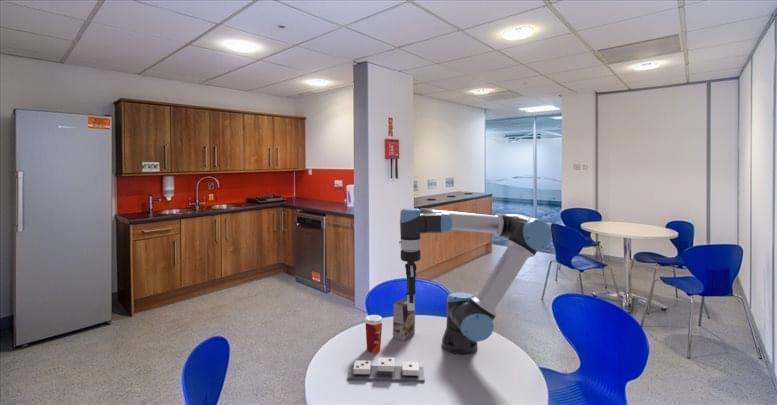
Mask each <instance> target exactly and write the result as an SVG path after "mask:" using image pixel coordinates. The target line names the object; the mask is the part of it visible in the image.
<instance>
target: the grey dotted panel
mask: <svg viewBox="0 0 777 405" xmlns="http://www.w3.org/2000/svg"><path fill="white" fill-rule="evenodd" d="M353 369H354V364H351V365H350V366H349V370H348V374H347V375H348V376H347V381H366V382H367V381H368V382H404V383H405V382H407V383H425V381H426V380H425V371H424V366H419V376H416V375H403V373H402V365H401V366H399V365H398V366H396V365H395V366H394V371H378V365H371V369H370V374H353Z"/></svg>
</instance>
